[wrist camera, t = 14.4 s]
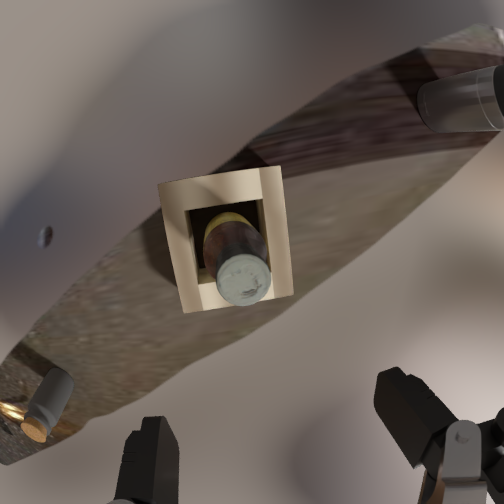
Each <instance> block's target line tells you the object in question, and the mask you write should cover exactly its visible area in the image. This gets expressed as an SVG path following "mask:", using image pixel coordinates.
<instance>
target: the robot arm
mask: <svg viewBox="0 0 504 504" xmlns="http://www.w3.org/2000/svg"><path fill="white" fill-rule="evenodd" d="M417 105H418V109H419V112H420V115H421V117H422V119H423V121H424V122H425V123H426V125H427V126H428V127H429V128H430V129H432V130H433V131H435V132H438V133H446V132H466V131H503V130H504V65H499V66H494V67H489V68H484V69H480V70H476V71H471V72H467V73H463V74H459V75H455V76H451V77H447V78H443V79H439V80H436V81H432V82H429V83H426V84H423V85H422V86H421V87H420V89H419V91H418V94H417ZM374 407H375V410H376V412H377V414H378V416H379V417H380V419H381V420H382V422H383V423H384V425H385V426H386V428H387V429H388V431H389V432H390V434H391V435H392V437H393V438H394V439H395V441H396V443H397V444H398V446H399V447H400V449H401V451H402V452H403V454H404V455H405V457H406V458H407V460H408V461H409V463H410V464H411V466H412V467H413V469H415V468H417V467H419V466H421V465H424V466H425V468H426V470H425V472H424V477H423V482H422V486H421V491H420V495H419V499H418V503H417V504H486V495H487V491H488V493H489V494H490V496H491V498H492V499H493V501H494V502H495V504H504V408H502V409H501V410H500V411H499V412H498V414H497V416H496V418H495V419H492V420H489V421H486V422H483V423H480V424H475V423H474V422H472V421H469V420H458V419H457V418H456V417H455V416H454V414H452V412H451V411H450V410H449V409H448V408H447V407H446V406H445V404H444V403H443V402H442V401H441V400H440V399H439V398H438V397H437V396H435V393H433V391H432V390H431V389H429V387H428V386H427V385H426V384H425V383H424V382H423V380H422V379H420V378H418V377H415V376H414V375H412V374H410V375H407V376H406V374H405V373H404V372H403V371H402V370H401V369H400V368H399V367H393V368H391V369H388V370H385V371H382V372H380V373H379V374H378V376H377V382H376V389H375V394H374ZM123 452H124V454H123V456H122V463H121V466H120V471H119V476H118V482H117V487H116V493H115V497H114V499H113V501H111V502H109V503H107V504H178V485H179V447H178V442H177V440H176V438H175V436H174V434H173V432H172V430H171V428H170V426H169V424H168V422H167V420H166V418H165V417H164V416H155V417H144V418H143V420H142V426H141V430H140V431H132V433H131V434H130V436H129V437H128V439H127V440H126V442H125V446H124V451H123Z"/></svg>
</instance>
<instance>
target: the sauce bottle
mask: <svg viewBox="0 0 504 504" xmlns="http://www.w3.org/2000/svg"><path fill="white" fill-rule="evenodd" d="M203 255H204V256H203V258H204V263H205V266H206V269H207V271H208V272H209V274H210V275H211V276H212V278H213V279H215V280H216V286H217V290H218V292H219V293H220V295H221V296H222V297H223V298H224V299H225V300H226V301H228V302H229V303H231V304H234V305H238V306H248V305H252V304H254V303H256V302H257V301H259V300H260V299H262V298H263V297H264V296H265V294H266V293H267V292H268V290H269V287H270V285H271V273H270V270H269V267H268V265H267V263H266V259H267V248H266V244H265V242H264V240H263V238H262V236H261V235H260V233H259V232H258V231H257V230H256V229H255V228H254V227H253V226H252V225H251V224H250V223H249V222H248V221H247V220H246V219H245V218H244V217H243V216H241V215H239V214H237V213H233V212H224V213H221V214H219V215H217V216H215V217H213V218H212V220H211V221H210V222H209V224H208V225H207V227H206V230H205V237H204V247H203Z"/></svg>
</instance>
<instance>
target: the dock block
mask: <svg viewBox="0 0 504 504" xmlns="http://www.w3.org/2000/svg"><path fill="white" fill-rule="evenodd" d="M158 190H159V196H160V202H161V208H162V213H163V219H164V224H165V230H166V235H167V240H168V245H169V250H170V254H171V259H172V264H173V268H174V273H175V277H176V282H177V286H178V290H179V295H180V299H181V303H182V307H183V311H184V313H190V312H196V311H203V310H209V309H216V308H222V307H228V306H234V304H231V303H229V302H228V301H226V300H225V299H224V298H223V297H222V296H221V295H220V293H219V292H218V290H217V286H216V280H215V279H213V278H212V276H211V275H210V274H209V272H208V271H207V269H206V268H201V269H199V264H198V258H197V253H196V248H195V242H194V237H193V231H192V225H191V220H190V214H189V210H192V209H198V208H204V207H210V206H216V205H222V204H229V203H235V202H242V201H249V200H256V206H257V214H258V222H259V230H260V235H261V236H262V238H263V240H264V242H265V244H266V248H267V259H266V263H267V265H268V267H269V270H270V273H271V285H270V287H269V290H268V292H267V293H266V294H265V296H264V297H263V298H262V299H260V300H259V301H262V300H268V299H273V298H279V297H284V296H289V295H294V293H293V281H292V270H291V259H290V249H289V239H288V229H287V219H286V210H285V201H284V192H283V184H282V175H281V167H280V166H269V167H261V168H253V169H245V170H238V171H231V172H224V173H217V174H211V175H205V176H198V177H192V178H187V179H181V180H176V181H170V182H165V183H161V184H158Z"/></svg>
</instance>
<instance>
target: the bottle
mask: <svg viewBox="0 0 504 504" xmlns="http://www.w3.org/2000/svg"><path fill="white" fill-rule="evenodd" d="M73 388H74V382H73V379H72V378H71V376H70V375H69V374H68V373H67V372H65V371H64V370H62V369H59V368H52V369H50V370H49V372H48V373H47V375H46V376H45V378H44V379H43V381H42V382H41V384H40V386H39V387H38V389H37V390H36V392H35V394H34V395H33V397H32V399H31V400H30V402H29V404H28V410H29V411H28V412H26V413H25V415H24V421H23V422H22V423H21V428H22V430H23V431H24V432H25V433H26V434H27V435H28V436H29V437H30V438H32V439H33V440H35V441H38V442H45V440H46V436H47V435H49V434H50V432H51V427H54V426H55V425H56V424H57V422H58V420H59V418H60V415H61V413H62V411H63V409H64V407H65V405H66V403H67V401H68V399H69V397H70V395H71V393H72V391H73Z"/></svg>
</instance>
